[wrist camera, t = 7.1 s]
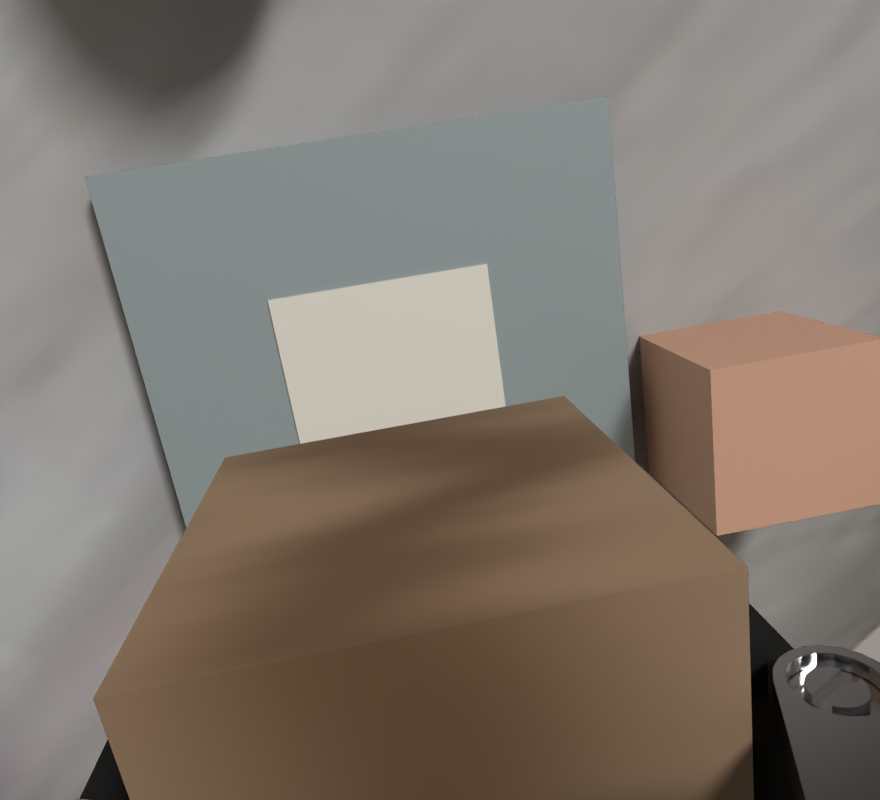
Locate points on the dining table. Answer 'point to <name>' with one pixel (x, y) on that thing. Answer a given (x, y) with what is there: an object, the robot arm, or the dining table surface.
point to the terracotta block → (763, 419)
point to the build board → (372, 283)
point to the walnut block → (439, 627)
